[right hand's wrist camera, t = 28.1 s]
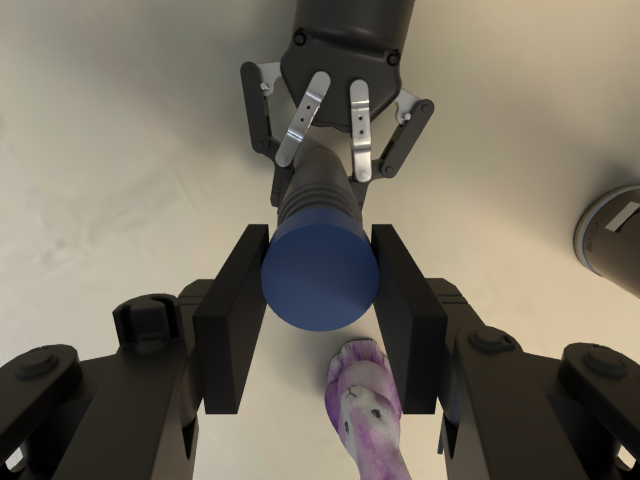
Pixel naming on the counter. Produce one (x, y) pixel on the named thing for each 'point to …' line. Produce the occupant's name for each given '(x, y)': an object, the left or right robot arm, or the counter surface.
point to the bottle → (319, 187)
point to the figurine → (366, 410)
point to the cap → (319, 270)
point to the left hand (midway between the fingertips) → (313, 217)
